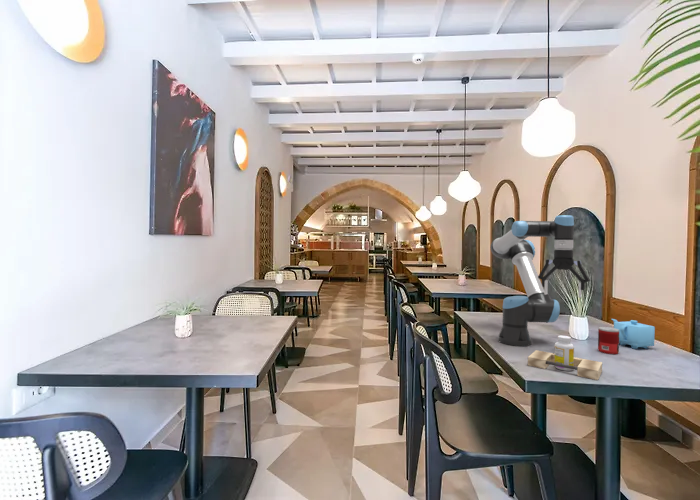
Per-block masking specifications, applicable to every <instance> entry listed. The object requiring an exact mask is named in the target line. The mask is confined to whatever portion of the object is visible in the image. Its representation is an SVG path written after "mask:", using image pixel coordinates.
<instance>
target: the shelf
mask: <svg viewBox="0 0 700 500" xmlns="http://www.w3.org/2000/svg"><path fill="white" fill-rule="evenodd" d="M527 366H528V367H534V368H538V369H539V368H540V369H544V370H546V369H547V368H548V367H549V366H554V367H555V366H559V367H564V368H569V369H573V370H575V371H577V372H576V373H577V377H582V378H585V379H592V380H594V381H595V380H596V381H598V380H599V379H600V377H601V375H602V373H603V361H596V360H592V359H587V358H581V357H575V356H574V366H570V365H565V364H560V363H555V352H554V353H553V352H548V351H543V350H542V351H541V350H537V349H536V350H534V351H533V352H532V353H531V354H530V355H528V356H527Z"/></svg>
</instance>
